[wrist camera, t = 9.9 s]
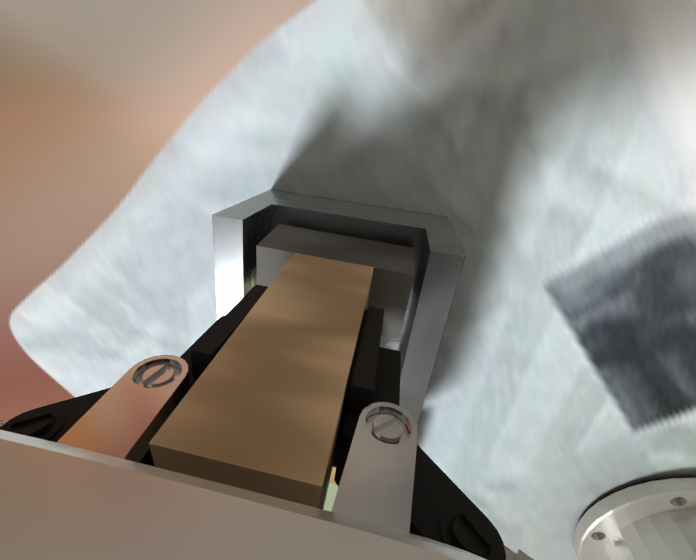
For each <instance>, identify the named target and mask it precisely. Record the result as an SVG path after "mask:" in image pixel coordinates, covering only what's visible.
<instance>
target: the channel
mask: <svg viewBox="0 0 696 560" xmlns="http://www.w3.org/2000/svg"><path fill="white" fill-rule="evenodd" d="M212 221H213V242H214V262H215V283H216V303H217V320H218V319H219V318H220V317H222V316H224V315H226V314H227V313H228V312H229V311H230V310H231V309H232V308H233V307H234V306H235V305H236V304H237V303H238V302H239V301H240V300H241V299H242V298H243V297H244V296H245V295H246V294H247V293H248V292H249V291H250V290H251V289H252V288H253V287H254V286H255V285H257V259H256V245H257V244H258V243H260V242H261V241H262V240H263V239H264V238H265V237H266V236H267V235H268V234H269V233H270V232H271V231H272V230H273V229H274V228H275V227H276V226H278V225H279V224H283V225H288V226H294V227H300V228H305V229H311V230H316V231H322V232H328V233H333V234H339V235H345V236H350V237H356V238H362V239H367V240H373V241H378V242H384V243H390V244H395V245H401V246H407V247H412V248H415V276H414V280H413V285H412V289H411V293H410V297H409V301H408V305H407V309H406V313H405V317H404V321H403V325H402V329H401V333H400V337H399V339H394V338H389V337H384V336H381V340H380V347H383V348H388V349H393V350H398V351H401V370H400V403H399V406H400V407H402V408H403V409H405V410H406V411H407V412H409V414H410V415H411V416H412V417H413V418H414V420H415V422H416V424H417V423H418V420H419V416H420V413H421V409H422V406H423V402H424V399H425V395H426V392H427V388H428V385H429V381H430V378H431V374H432V371H433V367H434V364H435V360H436V356H437V353H438V349H439V346H440V342H441V339H442V335H443V332H444V328H445V325H446V321H447V318H448V314H449V311H450V307H451V304H452V300H453V297H454V293H455V290H456V286H457V283H458V279H459V276H460V272H461V269H462V265H463V262H464V258H465V256H464V254H463V252H462V249H461V247H460V245H459V243H458V241H457V239H456V236H455V234H454V232H453V230H452V228H451V226H450V223H449V221H448V219H447V217H442V216H436V215H429V214H423V213H416V212H410V211H403V210H397V209H391V208H384V207H378V206H371V205H365V204H358V203H352V202H346V201H339V200H333V199H326V198H320V197H313V196H307V195H300V194H294V193H288V192H281V191H275V190H269V191H266V192H264V193H262V194H259V195H257V196H255V197H252V198H250V199H248V200H246V201H243V202H241V203H239V204H236V205H234V206H232V207H229V208H227V209H225V210H222V211H220V212H218V213H215V214H213V215H212Z"/></svg>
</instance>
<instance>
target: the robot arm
mask: <svg viewBox="0 0 696 560" xmlns="http://www.w3.org/2000/svg"><path fill="white" fill-rule="evenodd" d="M267 288H268V287H267V286H262V285H255V286H254V287H253V288H252V289H251V290H250V291H249V292H248V293H247V294H246V295H245V296H244V297H243V298H242V299H241V300H240V301H239V302H238V303H237V304H236V305H235V306H234V307H233V308H232V309H231V310H230V311H229V312H228V313H227V314H226V315H224V316H222V317H220V318H219V319H218V320H217V321H216V322H215V323H214V324H213V325H212V326H211V327H210V328H209V329H208V330H207V331H206V332H205V333H204V334H203V335H202V336H201V337H200V338H199V339H198V340H197V341H196V342H195V343H194V344H193V345H192V346H191V347H190V348H189V349H188V350H187V351H186V352H185V353H184V354H183V355H182V356H181V357H177V356H173V355H160V356H154V357H151V358H147V359H145V360H143V361H141V362H139V363H137V364H136V365H134V366H133V367H132V368H130V369H129V370H128V371H127V372H126V373H125V374H124V375H123V376H122V377H121V378H120V379H119V380H118V381H117V382H116V383H115V384H114V385H113V386H112V387H111V388H108V389H105V390H101V391H98V392H94V393H90V394H87V395H83V396H79V397H76V398H72V399H69V400H65V401H62V402H58V403H55V404H51V405H47V406H43V407H40V408H36V409H33V410H30V411H28V412H25V413H22V414H20V415H18V416H16V417H14V418H13V419H11V420H9V421H8V422H6V423H5V424H4V423H3V421H2V420H0V560H533V559H532V558H531V557H529V556H528V555H526V554H525V553H524V552H522V551H521V550H518V552H517V553H514V552H513V551H512V550H510V549H509V548H507V547H506V546H505V545H504V544H503V541H502V539H501V537H500V535H499V533H498V531H497V529H496V528H495V527H494V526H493V524H492V523H491V522H490V520H489V519H488V518H487V517H486V516H485V515H484V514H483V513H482V512H481V511H480V510H479V509H478V508H477V507H476V506H475V505H474V504H473V503H472V501H471V500H470V499H469V498H468V497H467V496H466V495H465V494H464V493H463V492H462V491H461V490H460V489H459V488H458V487H457V486H456V485H455V484H454V483H453V482H452V481H451V480H450V479H449V478H448V476H447V475H446V474H445V473H444V472H443V471H442V470H441V469H440V468H439V467H438V466H437V465H436V464H435V463H434V462H433V461H432V460H431V459H430V458H429V457H428V456H427V455H426V454H425V452H424V451H423V450H422V449H421V448H420V447H419V446H418V445H417V438H418V429H417V424H416V422H415V420H414V418H413V417H412V416H411V415H410V414H409V412H407V411H406V410H405V409H403V408H402V407H400V406H399V403H400V370H401V351H398V350H393V349H388V348H383V347H380V340H381V332H382V324H383V317H384V309H381V308H376V307H371V306H369V308H368V310H364V314H363V319H362V323H361V327H360V331H359V335H358V339H357V343H356V348H355V352H354V356H353V360H352V364H351V368H350V372H349V376H348V381H347V386H346V391H345V397H344V403H343V408H342V414H341V420H340V426H339V432H338V438H337V444H336V450H335V456H334V462H333V467H335V468H336V472H335V477H334V481H335V483H336V484H337V486H338V490H337V494H336V497H335V500H334V504H333V507H332V511H331V512H330V511H326V510H322V509H318V508H315V507H311V506H307V505H303V504H299V503H295V502H291V501H288V500H284V499H280V498H276V497H272V496H268V495H264V494H260V493H257V492H253V491H249V490H245V489H241V488H237V487H233V486H229V485H225V484H221V483H217V482H213V481H209V480H205V479H201V478H197V477H193V476H189V475H185V474H181V473H178V472H174V471H170V470H166V469H162V468H158V467H155V465H154V461H153V458H152V454H151V450H150V447H149V442H150V441H151V440H152V438H153V437H154V436H155V434H156V433H157V432H158V431H159V429H160V428H161V427H162V425H163V424H164V423H165V421H166V420H167V419H168V417H169V416H170V415H171V414H172V412H173V411H174V410H175V408H176V407H177V406H178V404H179V403H180V402H181V400H182V399H183V398H184V397H185V395H186V394H187V393H188V391H189V390H190V389H191V387H192V386H193V385H194V383H195V382H196V381H197V380H198V378H199V377H200V376H201V374H202V373H203V372H204V370H205V369H206V368H207V367H208V365H209V364H210V363H211V361H212V360H213V359H214V357H215V356H216V355H217V353H218V352H219V351H220V350H221V348H222V347H223V346H224V344H225V343H226V342H227V340H228V339H229V338H230V336H231V335H232V334H233V333H234V331H235V330H236V329H237V327H238V326H239V325H240V323H241V322H242V321H243V319H244V318H245V317H246V316H247V314H248V313H249V312H250V310H251V309H252V308H253V306H254V305H255V304H256V302H257V301H258V300H259V299H260V297H261V296H262V295H263V293H264V292H265V291H266V289H267ZM574 546H575V549H576V553H577V555H578V558H579V560H696V478H670V479H663V480H655V481H649V482H645V483H641V484H637V485H634V486H630V487H627V488H625V489H622V490H620V491H617V492H615V493H612V494H611V495H609V496H607V497H605V498H604V499H602V500H600V501H598V502H597V503H596V504H595V505H593V506H592V507H591V508H590V509H589V510H587V512H586V513H585V514H584V515H583V517H582V518H581V519H580V521H579V522H578V524H577V527H576V529H575V532H574Z"/></svg>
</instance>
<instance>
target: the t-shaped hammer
mask: <svg viewBox="0 0 696 560" xmlns="http://www.w3.org/2000/svg"><path fill="white" fill-rule="evenodd" d="M256 259H257V285H262V286H267V287H268V288H267V289H266V291H265V292H264V293H263V295H262V296H261V297H260V299H259V300H258V301H257V302H256V304H255V305H254V306H253V308H252V309H251V310H250V312H249V313H248V314H247V316H246V317H245V318H244V319H243V321H242V322H241V323H240V325H239V326H238V327H237V329H236V330H235V331H234V333H233V334H232V335H231V336H230V338H229V339H228V340H227V342H226V343H225V344H224V346H223V347H222V348H221V350H220V351H219V352H218V353H217V355H216V356H215V357H214V359H213V360H212V361H211V363H210V364H209V365H208V367H207V368H206V369H205V370H204V372H203V373H202V374H201V376H200V377H199V378H198V380H197V381H196V382H195V383H194V385H193V386H192V387H191V389H190V390H189V391H188V393H187V394H186V395H185V397H184V398H183V399H182V400H181V402H180V403H179V404H178V406H177V407H176V408H175V410H174V411H173V412H172V414H171V415H170V416H169V417H168V419H167V420H166V421H165V423H164V424H163V425H162V427H161V428H160V429H159V431H158V432H157V433H156V434H155V436H154V437H153V438H152V440H151V441H150V442H149V447H150V450H151V454H152V458H153V461H154V465H155V467H158V468H162V469H166V470H170V471H174V472H178V473H181V474H185V475H189V476H193V477H197V478H201V479H205V480H209V481H213V482H217V483H221V484H225V485H229V486H233V487H237V488H241V489H245V490H249V491H253V492H257V493H260V494H264V495H268V496H272V497H276V498H280V499H284V500H288V501H291V502H295V503H299V504H303V505H307V506H311V507H315V508H318V509H322V510H323V509H324V504H325V500H326V495H327V491H328V486H329V482H330V477H331V473H332V468H333V462H334V456H335V450H336V444H337V438H338V432H339V426H340V420H341V414H342V408H343V403H344V397H345V391H346V386H347V381H348V376H349V372H350V368H351V364H352V360H353V356H354V352H355V348H356V343H357V339H358V335H359V331H360V327H361V323H362V319H363V314H364V310H368V308H369V306H371V307H376V308H381V309H384V317H383V324H382V332H381V336H384V337H389V338H394V339H399V337H400V333H401V329H402V325H403V321H404V317H405V313H406V309H407V305H408V301H409V297H410V293H411V289H412V285H413V280H414V276H415V248H412V247H407V246H401V245H395V244H390V243H384V242H378V241H373V240H367V239H362V238H356V237H350V236H345V235H339V234H333V233H328V232H322V231H316V230H311V229H305V228H300V227H294V226H288V225H283V224H279V225H278V226H276V227H275V228H274V229H273V230H272V231H271V232H270V233H269V234H268V235H267V236H266V237H265V238H264V239H263V240H262V241H261V242H260V243H258V244H257V245H256Z"/></svg>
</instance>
